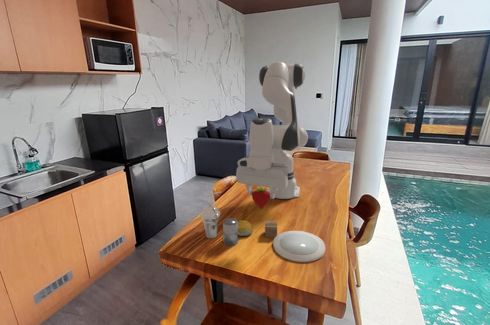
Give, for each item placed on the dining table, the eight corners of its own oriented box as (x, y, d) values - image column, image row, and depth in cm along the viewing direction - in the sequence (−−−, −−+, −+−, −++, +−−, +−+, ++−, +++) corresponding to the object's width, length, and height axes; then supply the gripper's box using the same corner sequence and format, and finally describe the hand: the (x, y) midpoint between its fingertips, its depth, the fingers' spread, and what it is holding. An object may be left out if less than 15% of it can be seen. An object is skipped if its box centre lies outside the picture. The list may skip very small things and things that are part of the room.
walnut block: (265, 231, 115) (265, 221, 113) (276, 232, 114) (276, 221, 113) (265, 237, 110) (265, 226, 108) (277, 238, 109) (277, 227, 108)
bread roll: (249, 224, 119) (249, 216, 118) (254, 235, 111) (254, 227, 110) (231, 226, 118) (231, 218, 117) (235, 237, 109) (235, 228, 108)
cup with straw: (207, 229, 117) (205, 187, 112) (225, 232, 114) (224, 189, 109) (197, 238, 110) (194, 194, 104) (216, 242, 106) (214, 196, 101)
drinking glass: (228, 236, 111) (227, 216, 108) (240, 239, 108) (240, 219, 106) (220, 244, 105) (219, 223, 103) (234, 247, 103) (233, 226, 101)
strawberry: (269, 212, 99) (269, 188, 96) (249, 210, 101) (249, 186, 99) (272, 206, 104) (272, 182, 102) (253, 204, 107) (253, 181, 104)
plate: (281, 229, 116) (282, 226, 115) (328, 239, 108) (329, 236, 107) (265, 253, 98) (265, 250, 98) (320, 267, 90) (320, 264, 90)
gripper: (290, 162, 96) (289, 197, 100) (241, 157, 105) (241, 189, 108) (285, 166, 91) (284, 203, 94) (233, 161, 99) (234, 195, 103)
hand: (261, 196), depth 101 cm, fingers closed on strawberry, 7 cm apart
